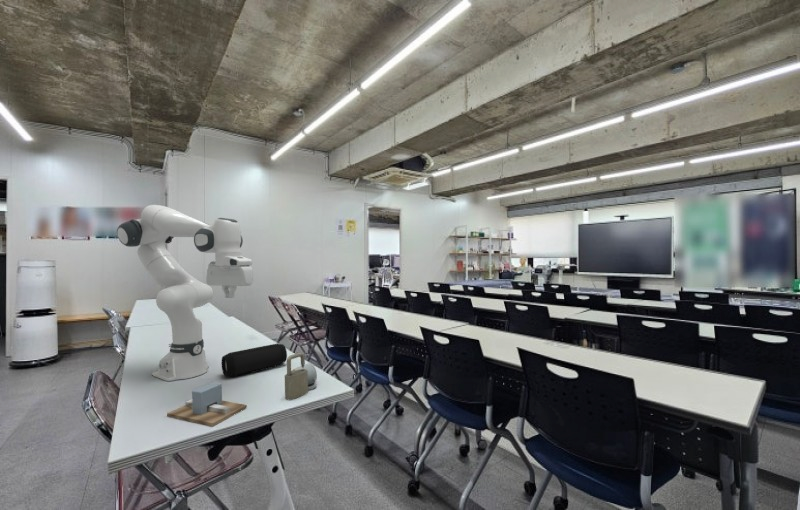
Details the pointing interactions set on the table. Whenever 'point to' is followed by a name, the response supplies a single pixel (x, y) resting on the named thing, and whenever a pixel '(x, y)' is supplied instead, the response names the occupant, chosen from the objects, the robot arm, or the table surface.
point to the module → (206, 397)
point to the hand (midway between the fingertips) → (229, 297)
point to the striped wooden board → (211, 417)
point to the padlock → (296, 379)
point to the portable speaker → (253, 359)
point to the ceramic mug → (309, 374)
